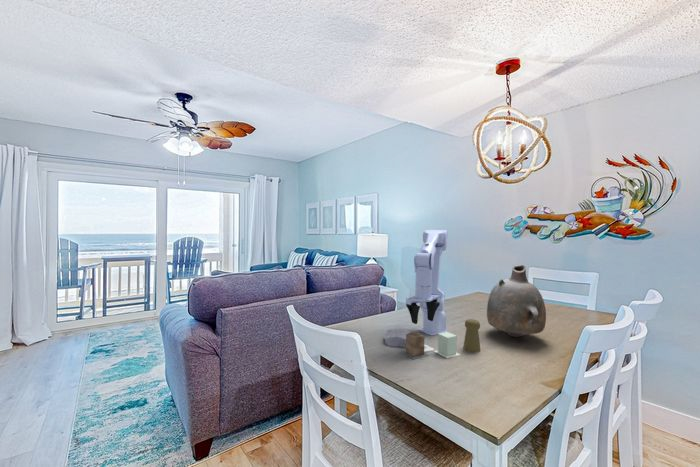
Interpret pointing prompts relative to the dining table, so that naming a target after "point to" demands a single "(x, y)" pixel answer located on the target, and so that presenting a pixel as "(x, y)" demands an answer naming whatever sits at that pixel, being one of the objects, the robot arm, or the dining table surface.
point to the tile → (446, 356)
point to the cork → (472, 336)
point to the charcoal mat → (412, 356)
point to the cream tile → (427, 348)
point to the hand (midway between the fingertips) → (422, 321)
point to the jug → (516, 305)
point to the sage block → (447, 343)
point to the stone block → (396, 337)
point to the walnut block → (415, 344)
